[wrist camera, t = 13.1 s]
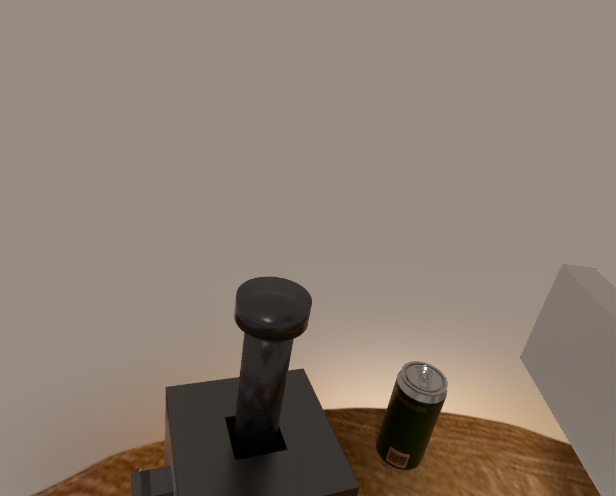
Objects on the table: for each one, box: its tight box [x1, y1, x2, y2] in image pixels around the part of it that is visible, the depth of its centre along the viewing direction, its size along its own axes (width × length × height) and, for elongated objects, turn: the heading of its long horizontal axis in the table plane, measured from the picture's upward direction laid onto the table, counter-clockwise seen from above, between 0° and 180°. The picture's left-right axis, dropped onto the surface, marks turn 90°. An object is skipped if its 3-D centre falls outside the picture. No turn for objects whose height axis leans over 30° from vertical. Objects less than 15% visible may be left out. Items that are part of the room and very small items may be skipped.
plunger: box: [232, 277, 312, 460], centre depth 33 cm, size 8×8×28 cm
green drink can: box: [376, 361, 447, 472], centre depth 52 cm, size 5×5×12 cm
